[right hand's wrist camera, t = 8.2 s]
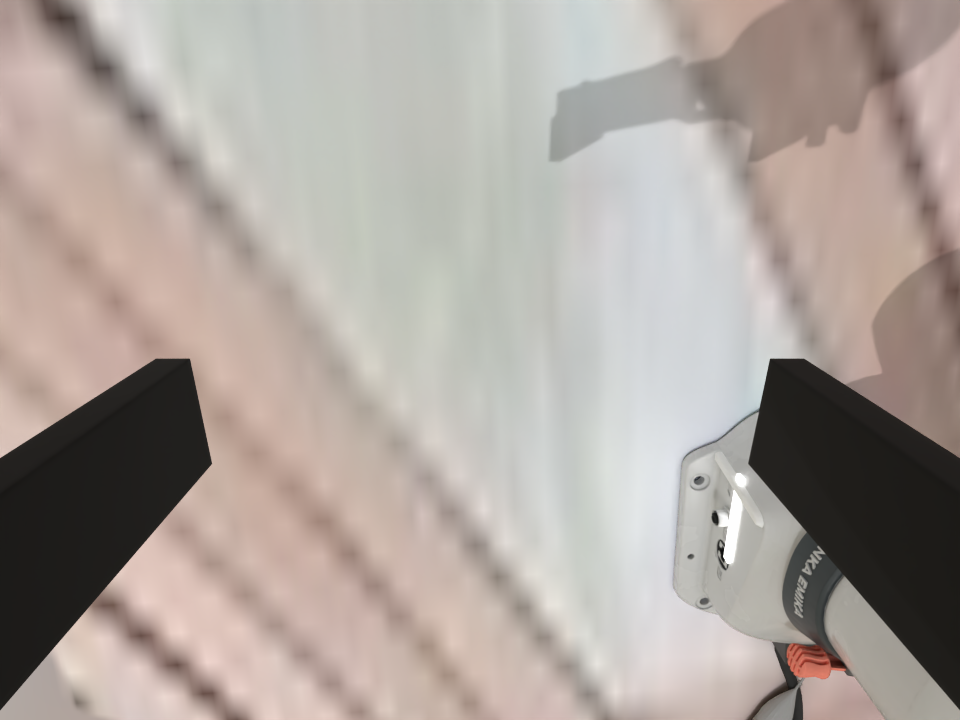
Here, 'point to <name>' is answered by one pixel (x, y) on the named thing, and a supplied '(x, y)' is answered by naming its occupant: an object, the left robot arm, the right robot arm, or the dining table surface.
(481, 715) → the dining table surface
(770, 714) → the airplane
